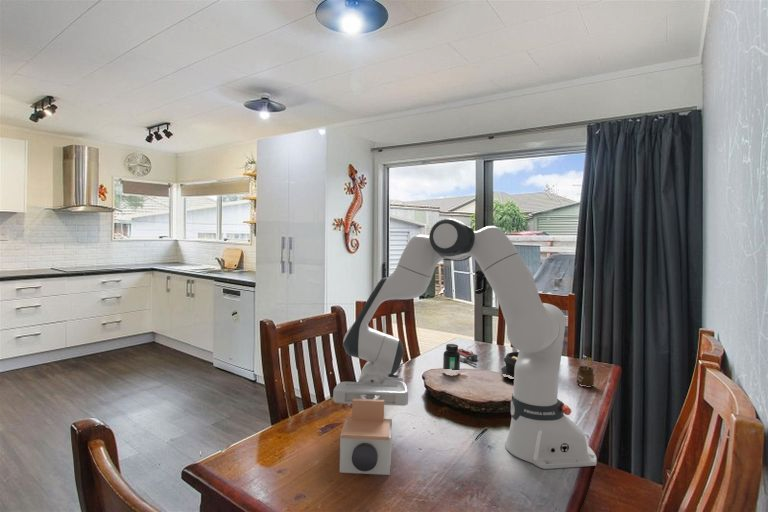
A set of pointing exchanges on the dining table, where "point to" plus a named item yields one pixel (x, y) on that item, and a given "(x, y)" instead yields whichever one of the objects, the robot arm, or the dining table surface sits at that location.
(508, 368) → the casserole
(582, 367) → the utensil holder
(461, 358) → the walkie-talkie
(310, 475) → the dining table surface
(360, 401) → the tan wooden stepped block
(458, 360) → the supplement bottle
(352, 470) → the camera case
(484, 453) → the dining table surface
